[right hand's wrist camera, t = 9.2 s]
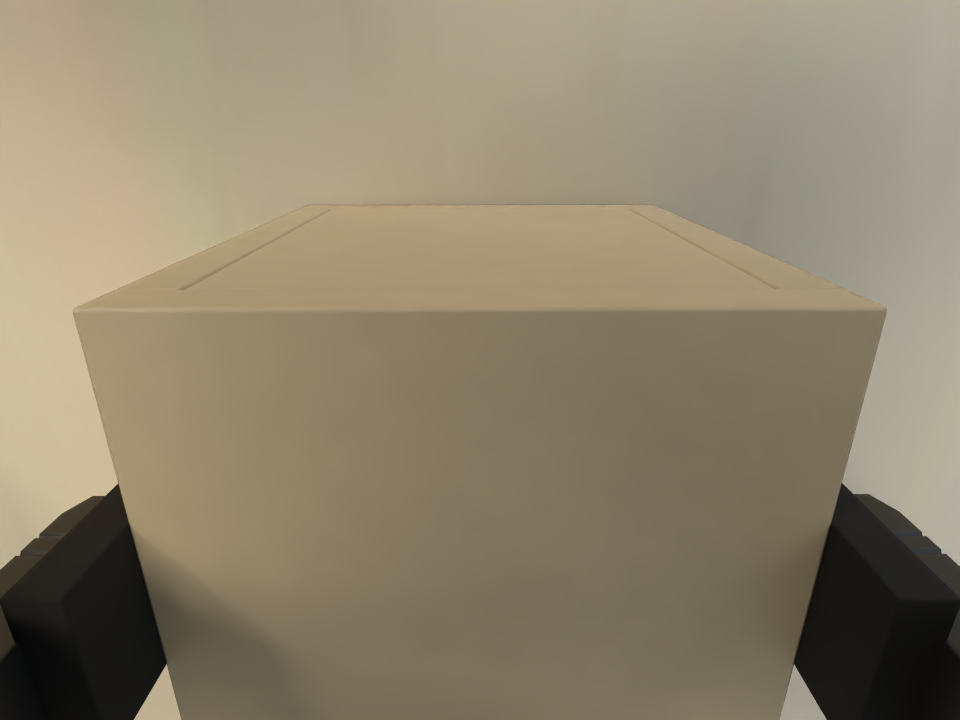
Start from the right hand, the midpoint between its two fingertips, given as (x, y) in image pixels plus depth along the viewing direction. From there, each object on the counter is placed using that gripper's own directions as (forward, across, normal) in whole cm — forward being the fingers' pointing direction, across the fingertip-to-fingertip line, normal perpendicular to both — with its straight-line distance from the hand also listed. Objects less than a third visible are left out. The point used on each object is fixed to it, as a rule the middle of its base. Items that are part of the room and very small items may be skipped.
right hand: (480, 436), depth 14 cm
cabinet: (+5, 0, -4) cm, 6 cm away
